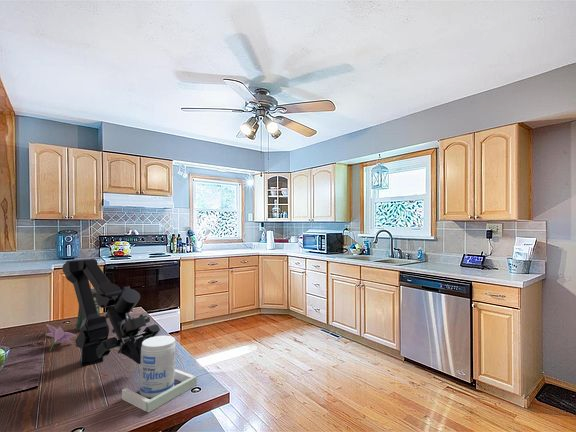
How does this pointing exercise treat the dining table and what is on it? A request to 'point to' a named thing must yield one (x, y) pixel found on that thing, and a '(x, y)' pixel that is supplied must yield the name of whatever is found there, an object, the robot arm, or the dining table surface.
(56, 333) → the lily
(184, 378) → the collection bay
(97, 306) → the coffee jar
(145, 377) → the supplement tub
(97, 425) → the dining table surface
